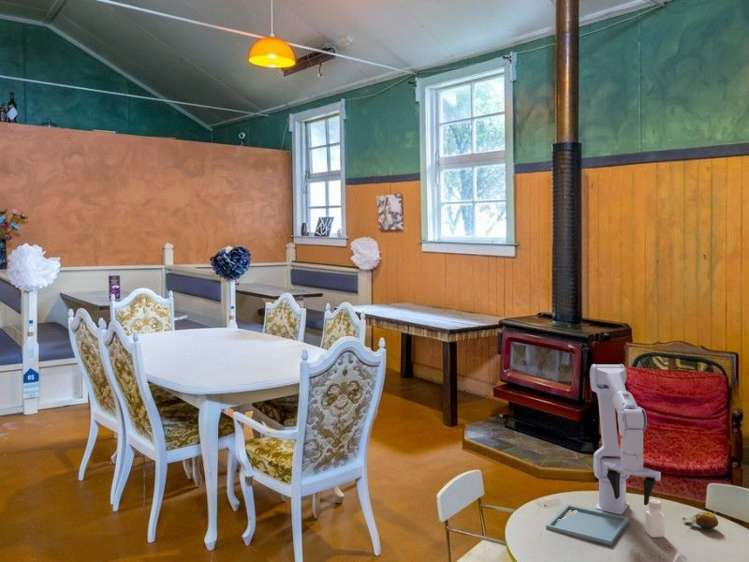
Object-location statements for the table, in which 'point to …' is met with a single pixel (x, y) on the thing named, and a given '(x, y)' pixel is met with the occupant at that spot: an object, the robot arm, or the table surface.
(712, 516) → the chicken drumstick
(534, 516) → the table surface
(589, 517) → the tray
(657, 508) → the pepper shaker
